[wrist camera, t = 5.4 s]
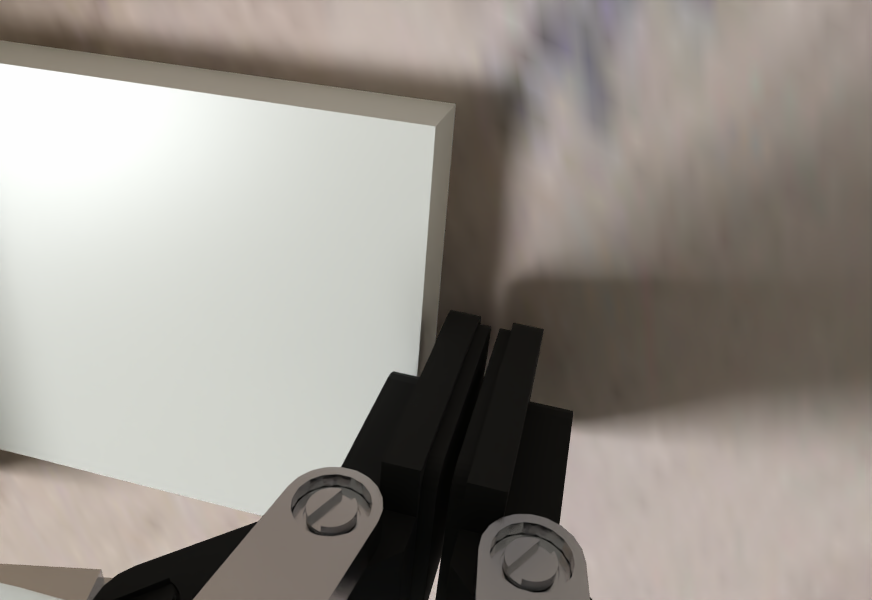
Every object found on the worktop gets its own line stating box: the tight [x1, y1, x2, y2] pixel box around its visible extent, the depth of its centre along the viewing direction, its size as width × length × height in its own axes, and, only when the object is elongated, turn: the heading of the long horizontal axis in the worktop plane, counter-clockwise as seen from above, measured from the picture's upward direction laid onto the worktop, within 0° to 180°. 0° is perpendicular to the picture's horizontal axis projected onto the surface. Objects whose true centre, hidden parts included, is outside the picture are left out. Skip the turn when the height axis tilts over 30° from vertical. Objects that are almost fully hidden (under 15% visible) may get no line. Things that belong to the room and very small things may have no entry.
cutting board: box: [0, 40, 456, 516], centre depth 14 cm, size 9×16×2 cm, turn 85°
